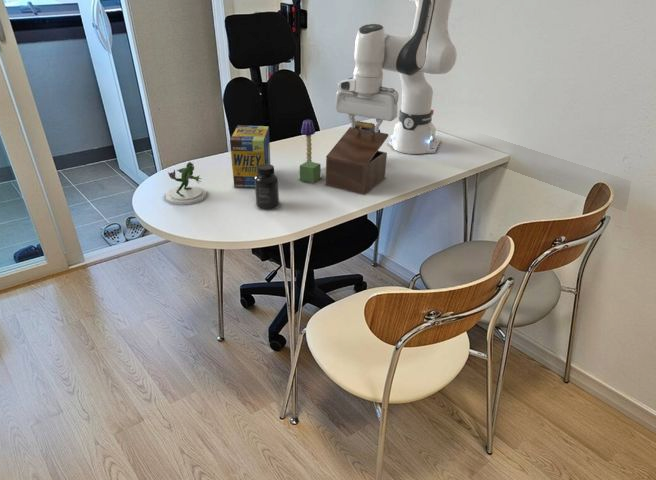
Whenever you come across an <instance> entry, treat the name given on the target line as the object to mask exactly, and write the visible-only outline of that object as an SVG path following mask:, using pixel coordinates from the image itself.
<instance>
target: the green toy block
mask: <svg viewBox="0 0 656 480" xmlns="http://www.w3.org/2000/svg"><path fill="white" fill-rule="evenodd" d="M321 168H322V167H321V163H319V162H314V161H312V162H310V161H307V160H306V161H305V162H303V163H302V164H300V165H299V180H300V181H303V182H307V183H311V184H313V183H315V182H317V181H318V180H320V179H321Z"/></svg>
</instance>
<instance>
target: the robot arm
mask: <svg viewBox="0 0 656 480" xmlns="http://www.w3.org/2000/svg"><path fill="white" fill-rule="evenodd" d="M408 1H409V2H411V3H412V4H413V5H415V6H416V10H415V15H414V20H413V25H412V30H411V34H409V35H407V34H406V35H401V36H395V35H390V34H389V33H387V32H385V28H384V26H383V25H382V24H378V23H370V24H365V25H362V26H360V27H359V28H358V30H357V33H356V37H355V42H354V43H355V44H354V52H353V53H354V54H353V55H354V56H353V59H354V70H353V73H352V77H349V78H346V79H343V80H341V81H339V82H338V83H337V88H338V90H337V92H336V95H335V103H334V104H335V105H334V108H335V110H336V112H337V113H341V114H346V115H348V119H349V121H350V123H351V126H350V127H351V128H352V129H357V127H356V125H355V124H356V121H357V120H356V119H355V117H356V116H358V117H363V118H370V119H375V123H376V124H375V126H374V127H372V132H373V133H378V131H379V130H380V126H381V125H382V124H383V122H384V121H387V122H392V121H395V120H396V119H397V118H398V121H397V122H396V123H395V124H394V126H393V127H394V128H393V134H392V135H390V139H392V140H390V141H388V145H389V146H390V147H392V149H394V150H395V151H396V152H399V153H402V154H406V155H407V154H408V155H423V154H434V153H436V151H437V149H438V147H439V146H440V143H441V139H440V138H438V137H436V129H437V128H436V127H435V125H434V123H433V122H432V120H433V119H432V118H433V115H434V114H435V113H434V112H435V111H434V109H432V105H433V98H434V97H433V96H434V91H433V87H432V85H430V84H429V82H428V81H427V79H426V77H425V74H430V75H445V74H449V72H450V71H451V70H453V68H454V67H455V65H456V62H457V55H458V54H457V49H456V46H455V45H454V43H453V42H452V40H451V38H450V34H449V16H450V11H451V8H452V7H451V6H452V2H453V0H408ZM383 70H385V71H388V72H389V71H390V72H395V73H398V76H399V79H400V83H401V103H400V109H399V111H398V102H399V96H400V95H399V92H398V91H397V90H395V88H392V87H391V88H390V87H385V86H383V78H384V74H383V73H384V72H383Z"/></svg>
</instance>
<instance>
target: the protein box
mask: <svg viewBox="0 0 656 480" xmlns="http://www.w3.org/2000/svg"><path fill="white" fill-rule="evenodd" d="M270 144H271V143H270V127H269V126H268V125H267V126H264V125H239V124H237V126H236V127H235V130H234V132H233V133H232V135H231V137H230V139H229V148H230V155H231V156H230V157H231V158H230V159H231V168H232V169H231V170H232V177H233V178H232V179H233V187H234V188H244V189H245V188H246V189H247V188H253V189H255V180H254V179H255V177H256V176H257V175H258V174H257V166H259V165H262V164H270V165H271V145H270Z"/></svg>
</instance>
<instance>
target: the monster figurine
mask: <svg viewBox="0 0 656 480" xmlns="http://www.w3.org/2000/svg"><path fill="white" fill-rule="evenodd" d="M194 170H195V165H194V163H193V162H190V161H188V162H187V163H186V166H184V167H182V168H179V169H173V171H172V172H167V173H168V177H169V178H170V179H171V180H175V181H176V182H180V183H181V184H180V185H179V187H174V188H172V189H170V190H168V191H167V192H166V193H165V200H166V202H168V203H170V204H172V205H179V206H181V205H182V206H185V205H192V204H196V203H199V202H202V201H203V200H204V199H206V198H207V191H206V190H205V188H203V187H200V186H194V185H189V182H190V181H189V180H195V181H196V183H202V181H201V180H202V178H200V177H201V175H199V174H198V175H197V176H194V175H193V174H194ZM176 171H177V172H179V173H180V174H181V175H180V178H179V177H177V176H176Z"/></svg>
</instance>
